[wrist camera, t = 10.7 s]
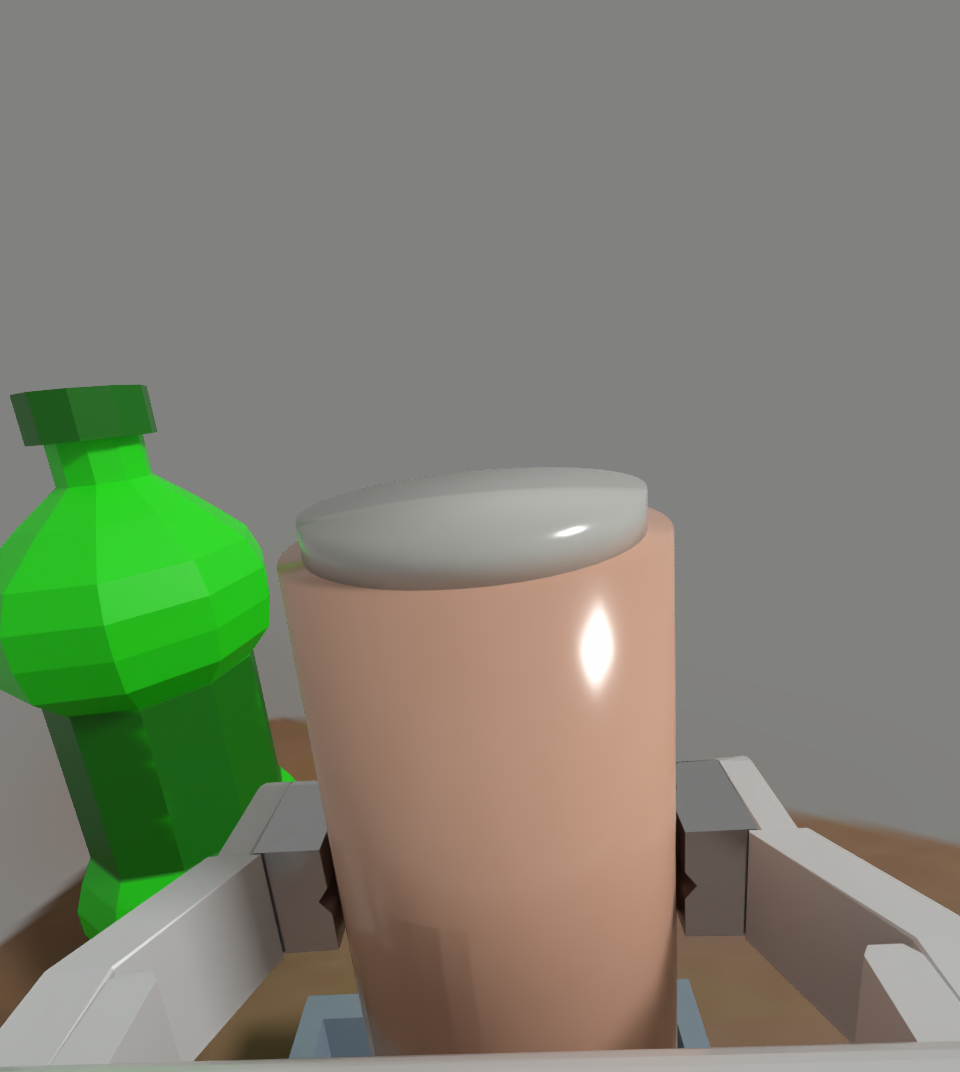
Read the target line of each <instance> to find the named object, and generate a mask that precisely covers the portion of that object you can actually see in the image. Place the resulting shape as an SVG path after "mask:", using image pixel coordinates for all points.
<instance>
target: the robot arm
mask: <svg viewBox="0 0 960 1072" xmlns="http://www.w3.org/2000/svg"><path fill="white" fill-rule="evenodd" d="M676 901H677V913H678V916H679V919H680V922H681V925H682V928H683V930H684V933H685V936H746V940H747V941H748V942H749V943H750V944H751V945H752V946H753V947H754V948H755V949H756V950H757V951H758V952H759V953H760V954H761V955H762V956H763V957H764V958H765V959H766V960H767V961H768V962H769V963H770V964H771V965H772V966H773V967H774V968H775V969H776V970H777V971H778V972H780V973H781V974H782V975H783V976H784V977H785V978H786V979H787V980H788V981H789V982H790V983H791V984H792V985H793V986H794V987H795V988H796V989H797V990H798V991H799V992H800V993H801V994H802V995H803V996H804V997H805V998H806V999H807V1000H808V1001H809V1002H810V1003H811V1004H812V1005H813V1006H814V1007H815V1008H816V1009H817V1010H818V1011H819V1012H820V1013H821V1014H822V1015H823V1016H824V1017H825V1018H826V1019H827V1020H828V1021H829V1022H830V1023H831V1024H832V1025H834V1026H835V1027H836V1028H837V1029H838V1030H839V1031H840V1032H841V1033H842V1034H843V1035H844V1036H845V1037H846V1038H847V1039H848V1040H849V1041H850V1042H851V1043H852V1044H823V1045H785V1046H747V1047H709V1048H670V1049H632V1050H593V1051H556V1052H519V1053H482V1054H445V1055H409V1056H372V1057H335V1058H298V1059H261V1060H224V1061H194V1060H195V1059H196V1057H197V1056H198V1055H199V1054H200V1053H201V1052H202V1051H203V1049H204V1048H205V1047H206V1046H207V1045H208V1044H209V1042H210V1041H211V1040H212V1039H213V1038H214V1037H215V1036H216V1034H217V1033H218V1032H219V1031H220V1030H221V1029H222V1028H223V1026H224V1025H225V1024H226V1023H227V1022H228V1021H229V1019H230V1018H231V1017H232V1016H233V1015H234V1014H235V1013H236V1011H237V1010H238V1009H239V1008H240V1007H241V1006H242V1005H243V1003H244V1002H245V1001H246V1000H247V999H248V998H249V997H250V995H251V994H252V993H253V992H254V991H255V990H256V988H257V987H258V986H259V985H260V984H261V983H262V982H263V980H264V979H265V978H266V977H267V976H268V975H269V974H270V972H271V971H272V970H273V969H274V968H275V967H276V965H277V964H278V963H279V962H280V961H281V960H282V959H283V957H284V955H283V953H298V952H312V951H326V950H339V948H340V944H341V941H342V937H343V934H344V931H345V921H344V916H343V911H342V906H341V901H340V895H339V890H338V885H337V880H336V874H335V869H334V864H333V859H332V854H331V848H330V843H329V838H328V833H327V827H326V822H325V817H324V812H323V807H322V801H321V796H320V791H319V786H318V781H295V782H275V783H266V784H264V785H262V786H260V788H259V789H258V790H257V792H256V794H255V795H254V797H253V799H252V800H251V802H250V804H249V805H248V807H247V808H246V810H245V812H244V813H243V815H242V817H241V818H240V820H239V822H238V823H237V825H236V826H235V828H234V830H233V831H232V833H231V835H230V836H229V838H228V840H227V841H226V843H225V844H224V846H223V848H222V849H221V851H220V853H219V854H218V856H215V857H207V858H206V859H204V860H203V861H202V862H200V863H199V864H197V865H196V866H194V867H193V868H192V869H190V870H189V871H187V872H186V873H184V874H183V875H182V876H180V877H179V878H177V879H176V880H175V881H173V882H172V883H170V884H169V885H167V886H166V887H165V888H163V889H162V890H160V891H159V892H157V893H156V894H155V895H153V896H152V897H150V898H149V899H147V900H146V901H145V902H143V903H142V904H140V905H139V906H137V907H136V908H135V909H133V910H132V911H130V912H129V913H128V914H126V915H125V916H123V917H122V918H120V919H119V920H118V921H116V922H115V923H113V924H112V925H110V926H109V927H108V928H106V929H105V930H103V931H102V932H100V933H99V934H98V935H96V936H95V937H93V938H92V939H90V940H89V941H88V942H86V943H85V944H83V945H82V946H81V947H79V948H78V949H76V950H75V951H73V952H72V953H71V954H69V955H68V956H66V957H65V958H63V959H62V960H61V961H59V962H58V963H56V964H55V965H53V966H52V967H51V968H49V969H48V970H46V971H45V972H44V973H43V974H42V976H41V977H40V978H39V980H38V981H37V982H36V983H35V985H34V986H33V987H32V988H31V990H30V991H29V992H28V994H27V995H26V996H25V997H24V999H23V1000H22V1001H21V1003H20V1004H19V1005H18V1006H17V1008H16V1009H15V1010H14V1011H13V1013H12V1014H11V1015H10V1017H9V1018H8V1019H7V1020H6V1022H5V1023H4V1024H3V1025H2V1027H1V1028H0V1072H960V916H959V915H957V914H955V913H954V912H952V911H950V910H948V909H947V908H945V907H943V906H942V905H940V904H938V903H936V902H935V901H933V900H931V899H929V898H928V897H926V896H924V895H923V894H921V893H919V892H917V891H916V890H914V889H912V888H910V887H909V886H907V885H905V884H904V883H902V882H900V881H898V880H897V879H895V878H893V877H892V876H890V875H888V874H886V873H885V872H883V871H881V870H879V869H878V868H876V867H874V866H873V865H871V864H869V863H867V862H866V861H864V860H862V859H860V858H859V857H857V856H855V855H854V854H852V853H850V852H848V851H847V850H845V849H843V848H842V847H840V846H838V845H836V844H835V843H833V842H831V841H829V840H828V839H826V838H824V837H823V836H821V835H819V834H817V833H816V832H814V831H812V830H810V829H809V828H797V826H796V825H795V823H794V822H793V821H792V819H791V818H790V816H789V815H788V813H787V812H786V810H785V809H784V807H783V806H782V804H781V803H780V802H779V800H778V799H777V797H776V796H775V794H774V793H773V791H772V790H771V788H770V787H769V786H768V784H767V783H766V781H765V780H764V778H763V777H762V775H761V774H760V772H759V771H758V770H757V768H756V767H755V765H754V764H753V762H752V761H751V759H749V758H747V757H746V756H737V757H725V758H715V759H714V760H699V761H682V762H676Z"/></svg>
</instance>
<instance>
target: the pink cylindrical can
mask: <svg viewBox="0 0 960 1072" xmlns="http://www.w3.org/2000/svg"><path fill="white" fill-rule="evenodd" d="M296 527H297V533H298V538H299V541H298V542H296V543H295V544H293V545H292V546H290V547H289V548H288V549H287V550H286V551H285V552H284V553H282V555H281V556H280V558H279V559H278V563H277V571H278V577H279V582H280V587H281V592H282V598H283V603H284V608H285V613H286V619H287V624H288V629H289V634H290V639H291V645H292V650H293V655H294V660H295V665H296V671H297V676H298V681H299V687H300V691H301V697H302V702H303V707H304V713H305V718H306V723H307V728H308V734H309V739H310V744H311V749H312V754H313V760H314V765H315V770H316V775H317V781H318V786H319V791H320V796H321V801H322V807H323V812H324V817H325V822H326V827H327V833H328V838H329V843H330V848H331V854H332V859H333V864H334V869H335V874H336V880H337V885H338V890H339V895H340V901H341V906H342V911H343V916H344V921H345V927H346V932H347V937H348V942H349V948H350V953H351V958H352V963H353V968H354V974H355V979H356V984H357V989H358V995H359V1000H360V1005H361V1010H362V1015H363V1021H364V1026H365V1031H366V1036H367V1042H368V1047H369V1052H370V1057H372V1056H409V1055H445V1054H482V1053H519V1052H556V1051H593V1050H632V1049H670V1048H677V901H676V747H675V746H676V743H675V742H676V739H675V583H674V582H675V581H674V580H675V578H674V577H675V576H674V527H673V524H672V522H671V521H670V520H669V519H668V518H667V517H666V516H665V515H663V514H662V513H660V512H658V511H657V510H654V509H652V508H649V507H647V486H646V483H645V482H644V481H642V480H641V479H639V478H637V477H634V476H631V475H628V474H624V473H620V472H614V471H608V470H599V469H588V468H567V467H532V468H531V467H530V468H507V469H491V470H480V471H479V470H478V471H467V472H458V473H450V474H441V475H433V476H426V477H419V478H413V479H407V480H401V481H395V482H390V483H385V484H380V485H375V486H371V487H366V488H362V489H358V490H354V491H350V492H347V493H344V494H340V495H337V496H334V497H331V498H328V499H325V500H322V501H320V502H318V503H315V504H313V505H312V506H309V507H307V508H306V509H304V510H303V511H302V512H300V513H299V514H298V516H297V517H296Z"/></svg>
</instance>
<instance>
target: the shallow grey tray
mask: <svg viewBox="0 0 960 1072" xmlns="http://www.w3.org/2000/svg"><path fill="white" fill-rule="evenodd" d="M709 1047H710V1044H709V1041H708V1038H707V1035H706V1032H705V1029H704V1026H703V1023H702V1019H701V1016H700V1013H699V1010H698V1007H697V1004H696V1001H695V998H694V995H693V992H692V989H691V986H690V983H689V979H677V1048H709ZM335 1057H370V1052H369V1047H368V1042H367V1036H366V1031H365V1026H364V1021H363V1015H362V1010H361V1005H360V1000H359V995H358V994H343V995H321V996H308V998H307V1001H306V1004H305V1007H304V1010H303V1014H302V1017H301V1020H300V1023H299V1027H298V1030H297V1033H296V1036H295V1040H294V1043H293V1046H292V1049H291V1052H290V1056H289V1059H298V1058H335Z"/></svg>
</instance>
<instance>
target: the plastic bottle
mask: <svg viewBox="0 0 960 1072" xmlns="http://www.w3.org/2000/svg"><path fill="white" fill-rule="evenodd" d="M10 398H11V401H12V404H13V408H14V411H15V414H16V418H17V421H18V425H19V428H20V431H21V435H22V438H23V441H24V445H25V446H36V445H44V448H45V452H46V455H47V458H48V462H49V465H50V469H51V472H52V476H53V479H54V482H55V486H56V488H55V489H54V490H53V491H52V492H51V493H50V494H49V495H48V497H47V498H46V499H45V500H44V501H43V502H42V503H41V504H40V505H39V506H38V507H37V508H36V509H35V510H34V511H33V512H32V513H31V514H30V516H28V517H27V519H26V520H25V521H24V522H23V523H22V524H21V525H20V526H19V527H18V528H17V529H16V530H15V531H14V532H13V534H12V535H11V536H10V537H9V538H8V540H7V541H6V542H5V543H4V544H3V546H2V547H1V548H0V690H3V691H4V692H7V693H8V694H11V695H12V696H14V697H16V698H19V699H20V700H22V701H24V702H26V703H29V704H31V705H33V706H35V707H38V708H41V709H42V711H43V714H44V717H45V720H46V723H47V726H48V729H49V732H50V735H51V738H52V741H53V744H54V747H55V750H56V753H57V756H58V759H59V762H60V765H61V768H62V771H63V775H64V777H65V781H66V784H67V787H68V790H69V793H70V796H71V799H72V802H73V805H74V808H75V811H76V814H77V817H78V820H79V823H80V826H81V829H82V832H83V835H84V838H85V841H86V844H87V847H88V850H89V853H90V857H91V858H90V861H89V864H88V867H87V870H86V873H85V876H84V879H83V882H82V887H81V893H80V899H79V905H78V911H77V913H78V916H79V919H80V922H81V925H82V928H83V930H84V933H85V935H86V936H87V937H88V938H89V939H92V938H93V937H95V936H96V935H98V934H99V933H100V932H102V931H103V930H105V929H106V928H108V927H109V926H110V925H112V924H113V923H115V922H116V921H118V920H119V919H120V918H122V917H123V916H125V915H126V914H128V913H129V912H130V911H132V910H133V909H135V908H136V907H137V906H139V905H140V904H142V903H143V902H145V901H146V900H147V899H149V898H150V897H152V896H153V895H155V894H156V893H157V892H159V891H160V890H162V889H163V888H165V887H166V886H167V885H169V884H170V883H172V882H173V881H175V880H176V879H177V878H179V877H180V876H182V875H183V874H184V873H186V872H187V871H189V870H190V869H192V868H193V867H194V866H196V865H197V864H199V863H200V862H202V861H203V860H204V859H206V858H207V857H215V856H218V854H219V853H220V851H221V849H222V848H223V846H224V844H225V843H226V841H227V840H228V838H229V836H230V835H231V833H232V831H233V830H234V828H235V826H236V825H237V823H238V822H239V820H240V818H241V817H242V815H243V813H244V812H245V810H246V808H247V807H248V805H249V804H250V802H251V800H252V799H253V797H254V795H255V794H256V792H257V790H258V789H259V788H260V786H262V785H264V784H266V783H275V782H295V780H294V779H293V777H292V776H291V775H289V774H288V773H287V772H286V771H285V770H284V769H282V768H281V767H280V766H279V765H278V762H277V758H276V753H275V748H274V744H273V739H272V734H271V730H270V725H269V721H268V716H267V712H266V707H265V702H264V698H263V693H262V689H261V684H260V679H259V675H258V670H257V666H256V661H255V656H254V651H253V648H254V647H255V646H256V644H257V643H258V641H259V640H260V638H261V637H262V635H263V634H264V633H265V631H266V630H267V628H268V627H269V601H270V600H269V599H270V595H269V588H268V580H267V574H266V569H265V564H264V559H263V554H262V549H261V548H260V546H259V545H258V543H257V542H256V540H255V539H254V537H253V535H252V534H251V532H250V531H249V529H248V528H247V526H246V525H245V524H243V523H242V522H240V521H238V520H236V519H234V518H233V517H231V516H230V515H228V514H226V513H225V512H223V511H221V510H220V509H218V508H216V507H215V506H213V505H211V504H210V503H208V502H206V501H205V500H203V499H201V498H200V497H197V496H195V495H193V494H192V493H190V492H188V491H186V490H184V489H182V488H180V487H178V486H176V485H174V484H172V483H170V482H168V481H166V480H164V479H162V478H160V477H158V476H157V475H155V474H153V473H152V471H151V467H150V462H149V459H148V454H147V450H146V446H145V442H144V438H143V434H146V433H154V432H157V428H156V424H155V420H154V416H153V412H152V408H151V403H150V399H149V395H148V391H147V386H143V385H110V386H94V387H79V388H63V389H53V390H42V391H32V392H24V393H19V394H14V395H10Z"/></svg>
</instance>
